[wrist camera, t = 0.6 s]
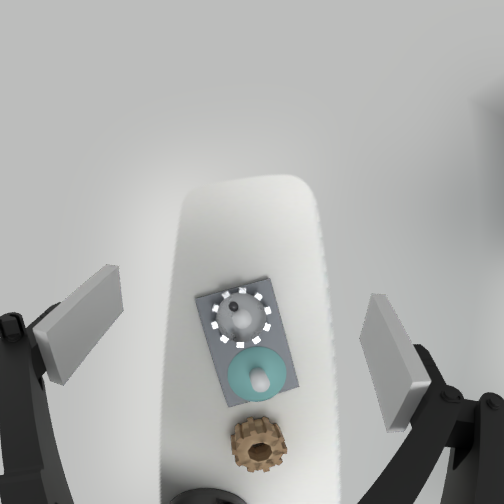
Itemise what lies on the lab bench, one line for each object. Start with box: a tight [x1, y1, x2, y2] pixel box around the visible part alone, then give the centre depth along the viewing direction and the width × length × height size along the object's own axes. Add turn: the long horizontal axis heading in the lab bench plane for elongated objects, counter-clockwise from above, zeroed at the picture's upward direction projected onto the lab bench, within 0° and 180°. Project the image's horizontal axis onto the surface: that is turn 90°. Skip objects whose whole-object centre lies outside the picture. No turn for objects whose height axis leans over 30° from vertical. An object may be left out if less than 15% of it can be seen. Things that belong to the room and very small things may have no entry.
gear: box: [211, 287, 271, 347], centre depth 43 cm, size 8×8×5 cm
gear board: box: [195, 278, 299, 407], centre depth 44 cm, size 17×11×6 cm, turn 15°
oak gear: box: [231, 417, 287, 472], centre depth 43 cm, size 8×8×5 cm
